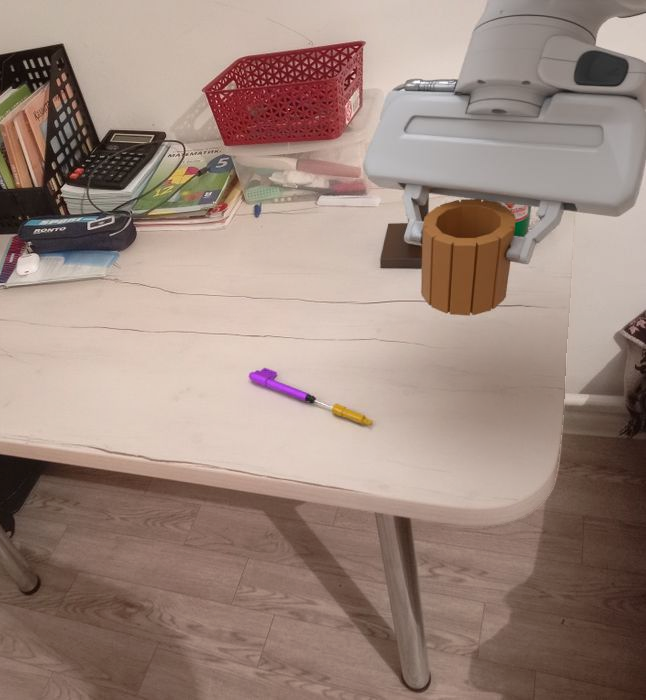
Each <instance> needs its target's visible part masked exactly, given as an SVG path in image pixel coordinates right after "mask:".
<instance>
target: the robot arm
mask: <svg viewBox="0 0 646 700" xmlns="http://www.w3.org/2000/svg"><path fill="white" fill-rule="evenodd" d="M644 14H646V0H486V5H485V7H484V10H483V12H482V14H481V16H480V17H479V19H478V21H477V22H476V24H475V25H474V28H473V31H472V33H471V35H470V39H469V43H468V46H467V49H466V52H465V54H464V55H465V56H464V59H463V62H462V65H461V68H460V72H459V74H458V77H457V78H456V79H455V78H450V79H449V78H440V79H439V78H438V79H428V80H427V79H422V78H410V79H406V81H405V82H404V83H402V84H399V85H397V86H396V87H394V88H393V89H392V90H390V91H389V92H388V93H387V94H386V96H385V98H384V101H383V105H382V108H381V112H380V118H379V120H380V121H379V123H378V125H377V127H376V128H375V131H374V134H373V136H372V138H371V141H370V143H369V146H368V148H367V151H366V154H365V157H364V160H363V164H362V168H363V171H364V174H365V176H366V178H367V179H368V180H369V181H370V182H371V183H372V184H374V185H375V186H377V187H379V188H384V189H393V190H399V191H403V193H402V196H401V198H402V202H403V206H404V209H405V214H406V217H407V218H406V219H407V223H408V225H407V228H406V232H405V235H404V241H405V242H407V243H409V244H414V245H421V246H422V228H423V222H422V220H421V215H420V211H419V206H418V204H419V205H425V204H426V201H427V198H428V195H429V196H430V194H432V195H437V196H445V197H454V198H463V199H481V200H482V201H483V200H488V201H494V202H501V203H509V204H517V205H525V206H531V207H534V208H537V210H536V215H537V217H538V219H539V221H538V222H537V223H536V224H535V225H534V226H533V227H532V228H530V230H528V233H527V234H526V235H525V236H524V237H519V236H513V237H512V240H511V242H510V246H511V247H510V248H509V249H508V250H507V254H506V259H507V260H508V261H510V263H517V264H522V265H527V266H528V265H529V264H530V262H531V260H532V257H533V254H534V252H535V249H536V245H537V244H539V243H540V242H541V241H543V240H544V239H545V238H546V237H547V236H548V235H549V234H550V233H551V232H553V231H554V230H555V229H556V228H557V227H558V226H560V223H561V220H562V218H563V215H564V211H566V212H575V213H582V214H589V215H597V216H605V217H613V218H617V217H621V216H622V215H624V214H626V213H627V212H628V211H630V210H631V209H633V208H634V207H635V205H636V203H637V200H638V197H639V195H640V190H641V186H642V184H643V178H644V174H645V169H646V61H645V60H643V59H641V58H638V57H635V56H631V55H628V54H624V53H621V52H617V51H613V50H610V49H607V48H604V47H601V46H598V45H597V37H598V33H599V30H600V28H601V27H602V26H603V25H604V24H605V23H606V22H607V21H608V20H611V19H613V18H619V19H627V18H632V17H637V16H642V15H644ZM408 220H409V222H408Z"/></svg>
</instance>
